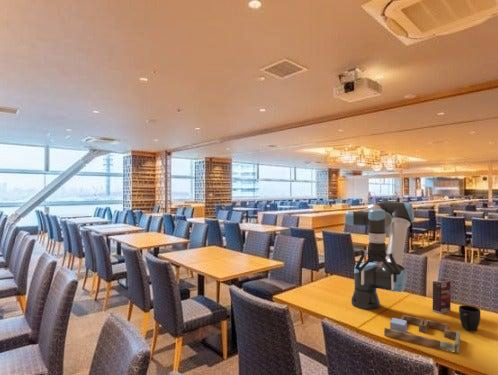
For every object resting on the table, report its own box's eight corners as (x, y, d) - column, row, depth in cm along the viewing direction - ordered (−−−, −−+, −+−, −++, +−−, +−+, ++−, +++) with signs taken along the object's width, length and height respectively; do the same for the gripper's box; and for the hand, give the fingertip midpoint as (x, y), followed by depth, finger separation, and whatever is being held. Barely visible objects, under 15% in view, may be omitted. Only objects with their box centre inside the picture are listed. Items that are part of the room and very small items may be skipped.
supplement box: (441, 314, 166) (440, 283, 166) (432, 310, 170) (431, 281, 170) (451, 311, 170) (451, 281, 170) (442, 308, 174) (442, 278, 174)
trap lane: (384, 335, 143) (384, 327, 143) (394, 318, 161) (394, 311, 161) (458, 353, 127) (458, 344, 127) (460, 333, 145) (460, 325, 144)
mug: (453, 331, 147) (453, 310, 147) (462, 323, 155) (462, 303, 155) (475, 337, 141) (474, 315, 141) (482, 329, 148) (482, 308, 148)
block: (390, 333, 146) (390, 322, 146) (393, 328, 151) (392, 317, 151) (404, 336, 142) (404, 325, 142) (407, 331, 147) (407, 320, 147)
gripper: (348, 240, 156) (348, 284, 156) (404, 245, 142) (405, 293, 142) (352, 238, 162) (353, 280, 162) (407, 243, 149) (407, 288, 149)
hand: (377, 286), depth 152 cm, fingers open, 13 cm apart
